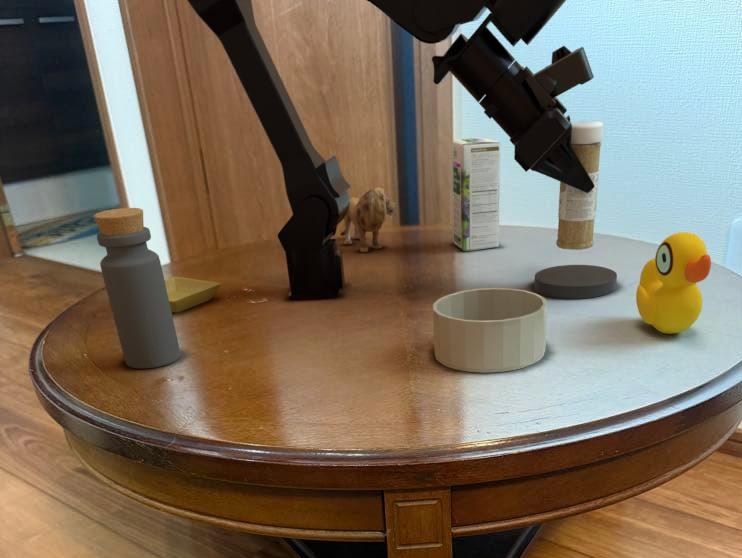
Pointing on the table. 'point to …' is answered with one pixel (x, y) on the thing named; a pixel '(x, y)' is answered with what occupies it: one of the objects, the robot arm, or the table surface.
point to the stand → (575, 281)
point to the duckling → (673, 283)
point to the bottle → (136, 290)
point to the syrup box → (476, 193)
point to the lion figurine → (367, 216)
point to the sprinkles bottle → (573, 202)
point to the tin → (490, 329)
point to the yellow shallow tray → (189, 292)
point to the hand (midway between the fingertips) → (590, 186)
